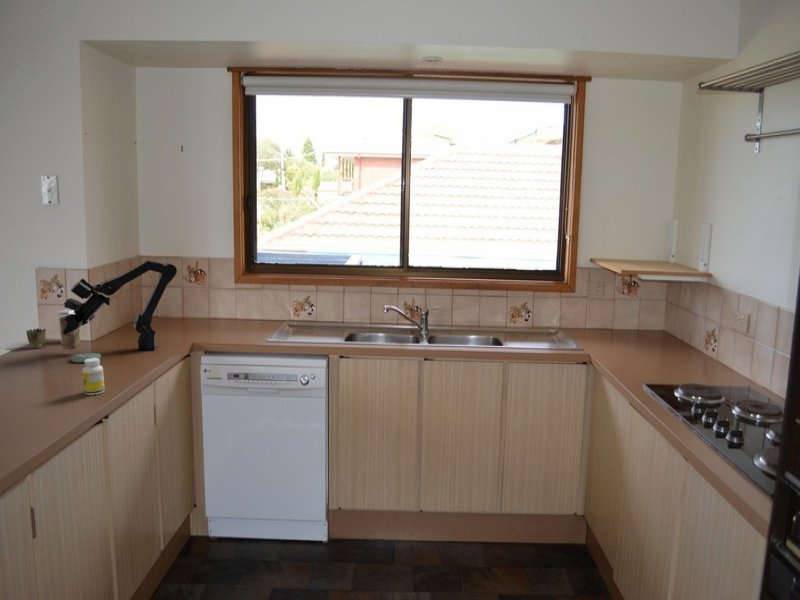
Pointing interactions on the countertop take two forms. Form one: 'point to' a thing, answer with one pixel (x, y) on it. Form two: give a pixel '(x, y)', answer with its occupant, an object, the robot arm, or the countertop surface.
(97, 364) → the pill bottle
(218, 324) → the countertop surface
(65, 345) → the walnut block
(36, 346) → the cup
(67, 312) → the syrup box
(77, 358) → the dish
